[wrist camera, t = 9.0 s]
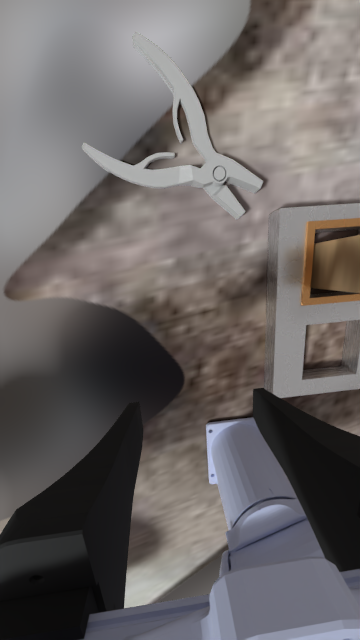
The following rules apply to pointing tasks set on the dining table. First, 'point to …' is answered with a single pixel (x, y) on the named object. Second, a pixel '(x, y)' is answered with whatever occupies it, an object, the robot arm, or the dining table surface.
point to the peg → (337, 265)
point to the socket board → (306, 303)
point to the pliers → (215, 165)
